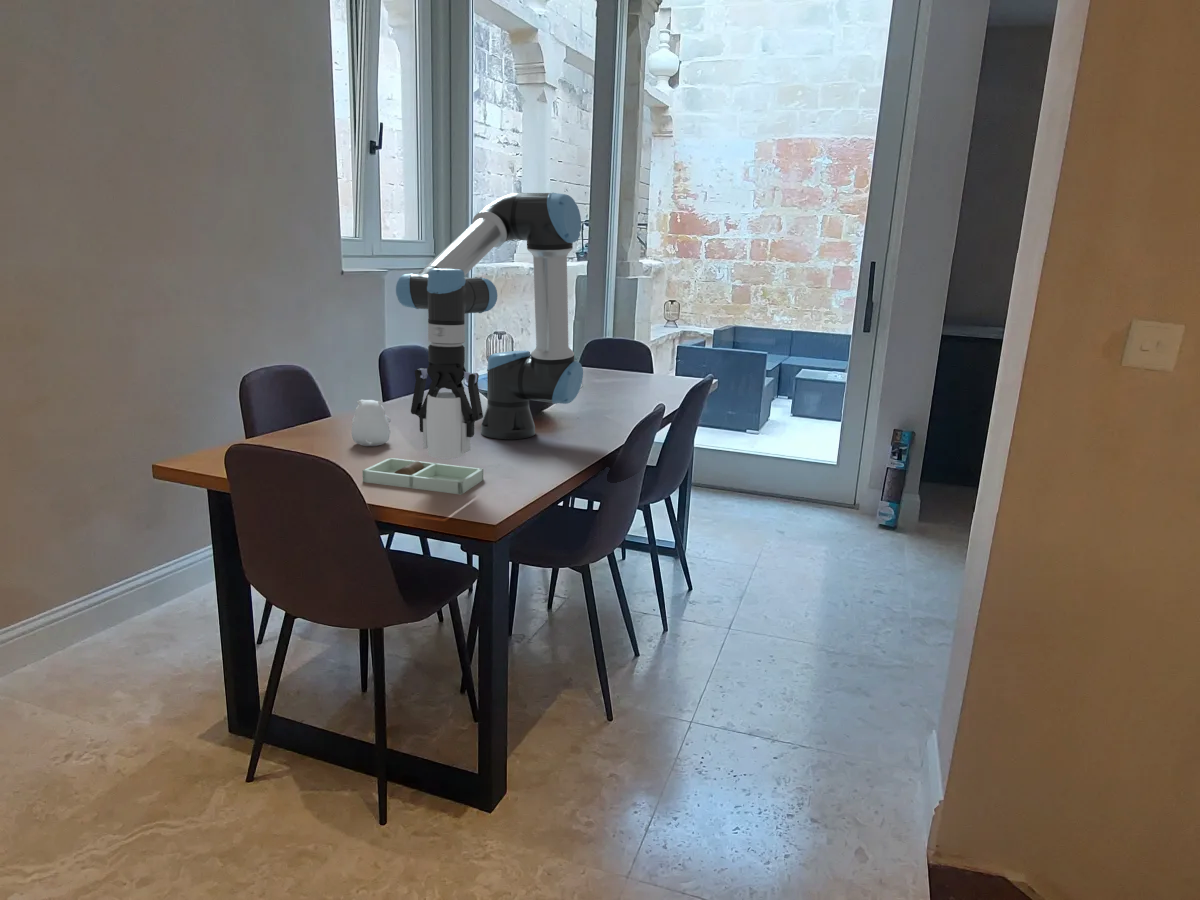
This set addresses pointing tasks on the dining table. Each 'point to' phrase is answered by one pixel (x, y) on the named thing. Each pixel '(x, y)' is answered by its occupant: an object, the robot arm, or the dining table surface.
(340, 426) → the dining table surface
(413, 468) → the dowel
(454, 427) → the cup
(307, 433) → the dining table surface
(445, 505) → the dining table surface
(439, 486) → the caddy
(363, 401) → the figurine
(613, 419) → the dining table surface
